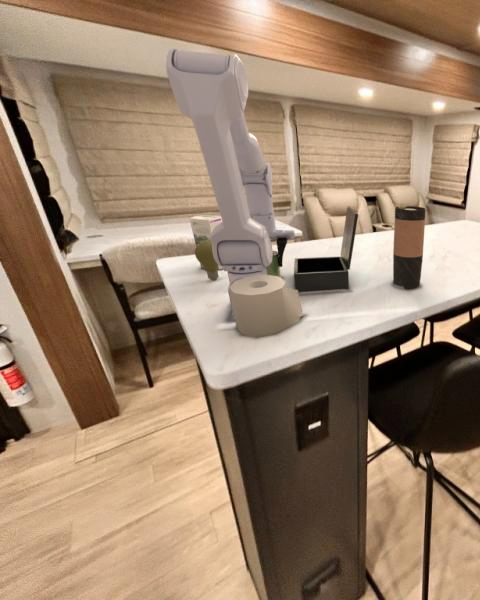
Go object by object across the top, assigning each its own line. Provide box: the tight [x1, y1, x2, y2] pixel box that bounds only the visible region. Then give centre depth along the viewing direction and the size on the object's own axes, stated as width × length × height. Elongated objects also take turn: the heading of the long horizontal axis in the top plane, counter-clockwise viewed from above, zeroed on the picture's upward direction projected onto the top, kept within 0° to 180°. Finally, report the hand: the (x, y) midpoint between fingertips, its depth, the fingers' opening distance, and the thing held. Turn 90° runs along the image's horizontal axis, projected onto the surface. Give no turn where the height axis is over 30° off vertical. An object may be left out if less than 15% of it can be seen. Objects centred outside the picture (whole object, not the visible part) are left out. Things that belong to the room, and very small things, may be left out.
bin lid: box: [340, 205, 359, 271], centre depth 78 cm, size 13×14×1 cm
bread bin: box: [293, 256, 350, 293], centre depth 80 cm, size 13×14×5 cm
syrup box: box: [189, 214, 223, 270], centre depth 88 cm, size 6×6×14 cm
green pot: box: [266, 250, 282, 278], centre depth 81 cm, size 6×6×7 cm
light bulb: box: [194, 242, 220, 281], centre depth 79 cm, size 6×6×10 cm
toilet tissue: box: [228, 275, 304, 338], centre depth 60 cm, size 9×13×9 cm
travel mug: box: [392, 205, 426, 290], centre depth 79 cm, size 8×8×20 cm
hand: (268, 266), depth 82 cm, fingers closed on green pot, 5 cm apart
